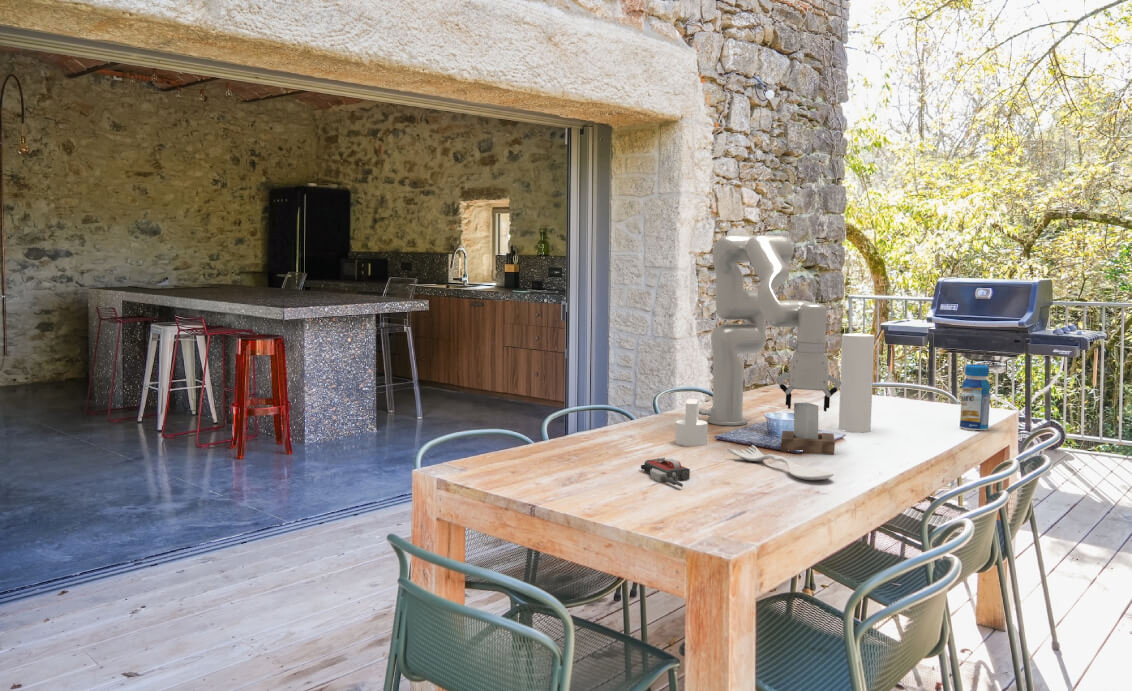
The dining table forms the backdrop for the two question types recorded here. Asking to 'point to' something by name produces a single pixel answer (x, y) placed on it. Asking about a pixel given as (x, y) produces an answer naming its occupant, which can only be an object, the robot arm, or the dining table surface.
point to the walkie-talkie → (666, 470)
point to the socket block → (808, 443)
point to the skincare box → (805, 420)
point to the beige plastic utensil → (793, 468)
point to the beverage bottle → (975, 398)
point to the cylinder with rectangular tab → (691, 427)
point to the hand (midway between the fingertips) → (807, 409)
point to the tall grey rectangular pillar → (856, 382)
